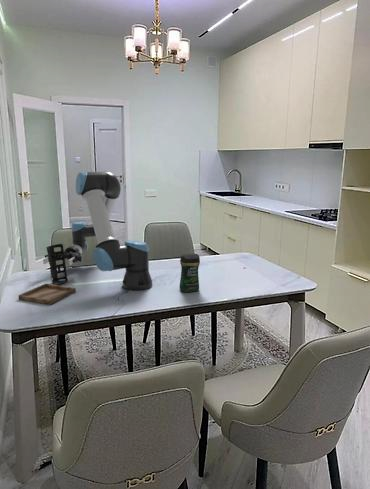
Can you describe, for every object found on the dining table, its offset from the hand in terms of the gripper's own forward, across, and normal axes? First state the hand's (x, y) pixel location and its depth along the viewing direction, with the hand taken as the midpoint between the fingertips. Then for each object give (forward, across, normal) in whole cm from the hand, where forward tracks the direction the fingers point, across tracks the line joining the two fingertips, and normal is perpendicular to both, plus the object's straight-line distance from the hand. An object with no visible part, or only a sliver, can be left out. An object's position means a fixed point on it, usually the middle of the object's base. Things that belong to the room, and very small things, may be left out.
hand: (56, 262), depth 192 cm
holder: (0, 0, -11) cm, 11 cm away
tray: (+19, -4, -11) cm, 22 cm away
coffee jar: (+2, -69, -11) cm, 70 cm away
